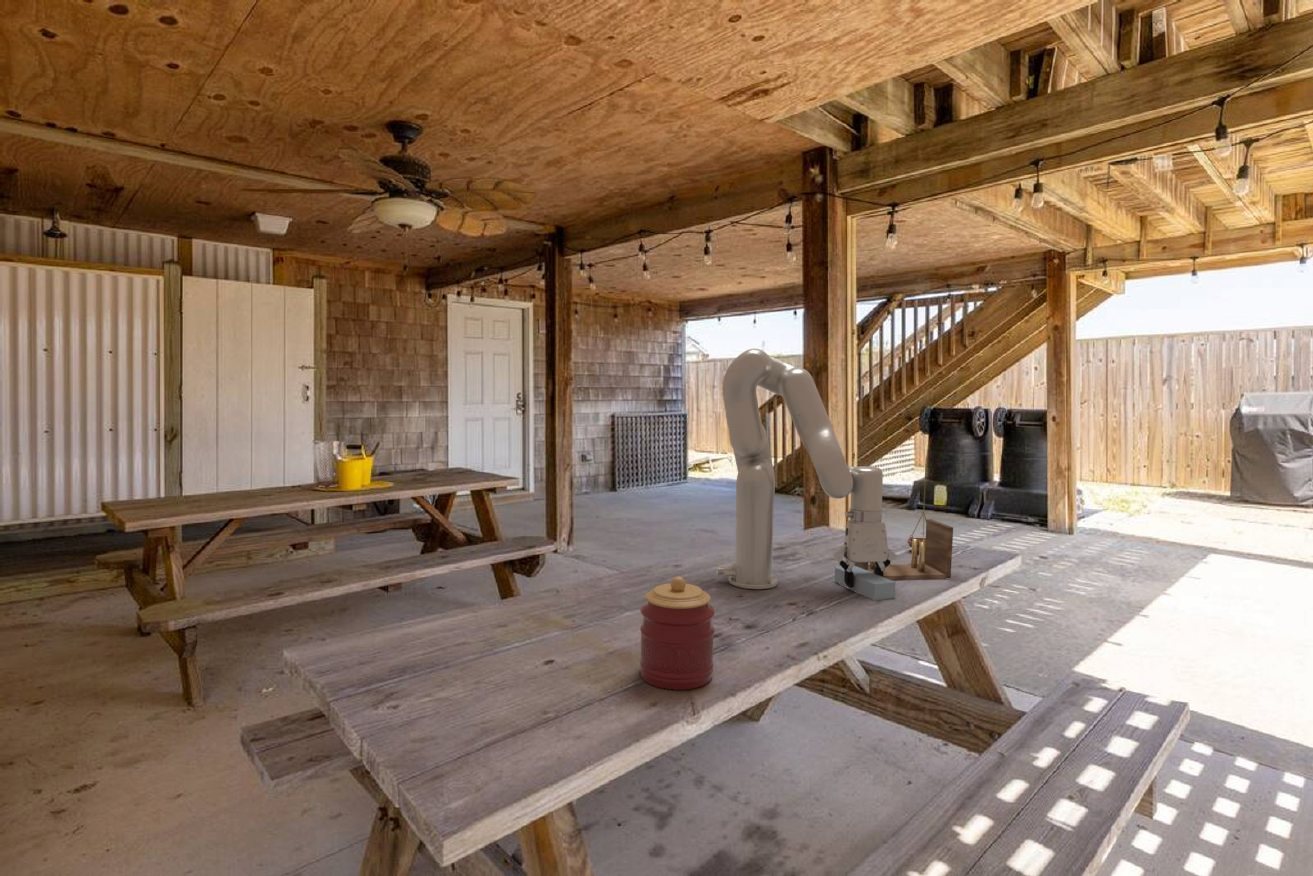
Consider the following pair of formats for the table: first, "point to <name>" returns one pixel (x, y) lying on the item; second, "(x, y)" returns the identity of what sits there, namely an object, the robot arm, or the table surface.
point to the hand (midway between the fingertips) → (863, 585)
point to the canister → (677, 636)
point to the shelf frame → (935, 556)
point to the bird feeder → (919, 540)
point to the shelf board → (868, 583)
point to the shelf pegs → (914, 556)
